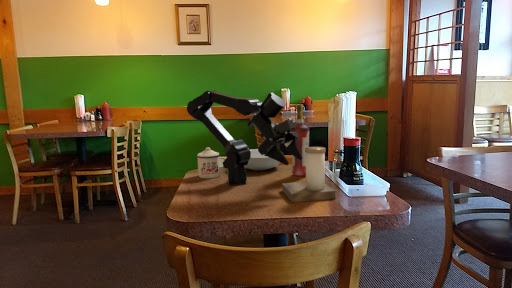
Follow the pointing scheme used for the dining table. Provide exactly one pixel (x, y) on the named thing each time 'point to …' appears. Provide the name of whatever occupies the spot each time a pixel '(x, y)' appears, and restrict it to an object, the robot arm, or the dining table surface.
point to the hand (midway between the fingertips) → (295, 161)
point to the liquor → (300, 143)
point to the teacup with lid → (209, 164)
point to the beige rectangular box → (306, 192)
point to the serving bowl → (260, 161)
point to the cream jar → (315, 168)
